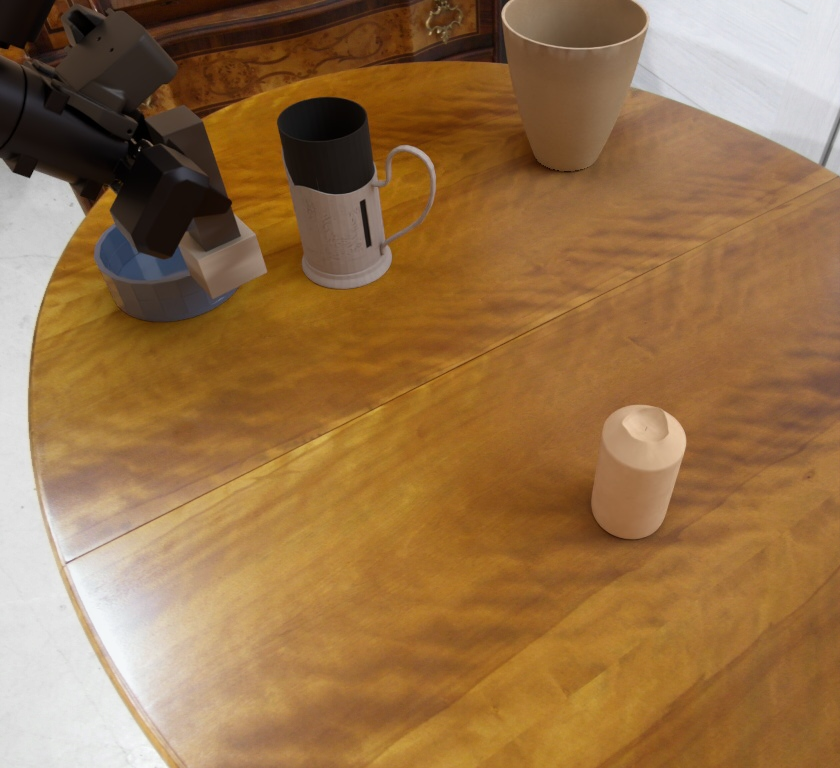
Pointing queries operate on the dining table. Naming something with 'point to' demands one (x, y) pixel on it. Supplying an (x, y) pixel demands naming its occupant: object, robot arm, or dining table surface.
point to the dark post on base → (210, 235)
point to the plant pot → (572, 72)
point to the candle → (636, 470)
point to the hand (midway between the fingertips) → (219, 197)
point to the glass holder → (339, 191)
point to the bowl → (150, 282)
